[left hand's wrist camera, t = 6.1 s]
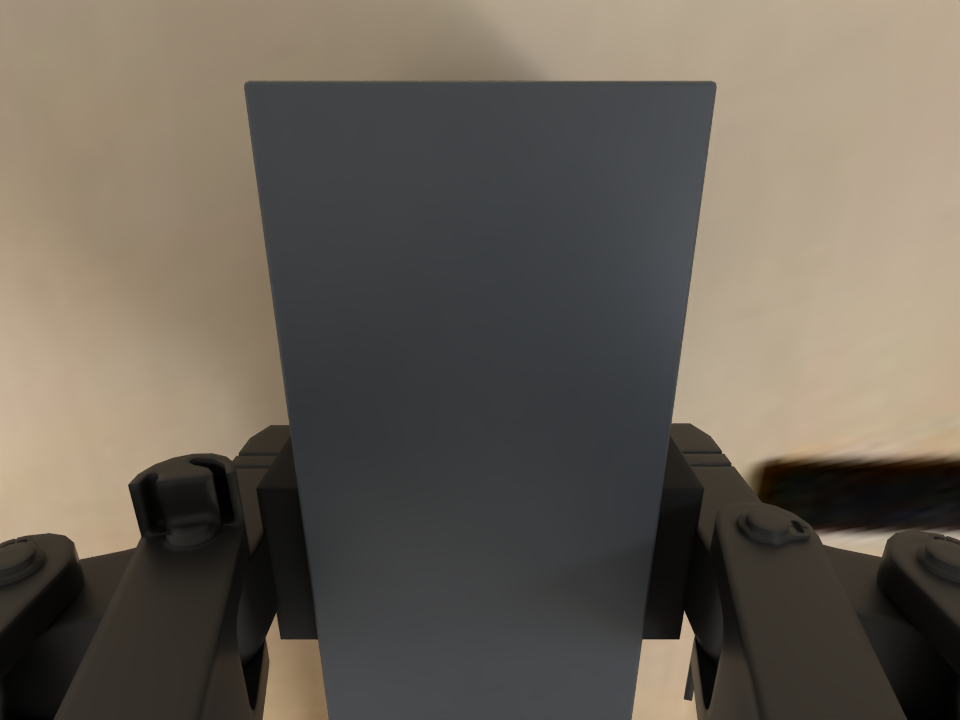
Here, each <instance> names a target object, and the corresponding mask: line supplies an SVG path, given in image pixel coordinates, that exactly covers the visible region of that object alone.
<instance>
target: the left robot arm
mask: <svg viewBox="0 0 960 720" xmlns="http://www.w3.org/2000/svg"><path fill="white" fill-rule="evenodd" d="M128 486H129V490H130V494H131V498H132V502H133V506H134V510H135V514H136V517H137V521H138V525H139V529H140V533H141V539H140V541H139V543H138V545H137V547H136V548H133V549H129V550H125V551H121V552H116V553H111V554H106V555H101V556H96V557H91V558H86V559H81V560H79V557H78V554H77V551H76V548H75V545H74V542H72V541H71V540H70V539H69V538H67V537H66V536H64V535H57V534H51V533H48V534H38V535H29V536H24V537H19V538H17V539H12V540H9V541H6V542H3V543H1V544H0V720H262V719H263V711H264V703H265V694H266V686H267V678H268V670H269V655H268V648H267V643H266V635H267V633H268V631H269V628H270V626H271V624H272V621H273V619H274V617H275V614H276V612H277V618H278V624H279V631H280V637H281V639H318V634H317V626H316V619H315V611H314V604H313V596H312V589H311V581H310V574H309V567H308V559H307V552H306V544H305V537H304V529H303V522H302V514H301V507H300V499H299V492H298V485H297V477H296V470H295V462H294V455H293V447H292V440H291V432H290V425H270V426H269V427H267V428H266V429H264V430H262V431H261V432H259V433H258V434H256V435H254V436H253V437H251V438H250V439H249V440H248V442H247V443H246V444H245V446H244V447H243V448H242V450H241V451H240V452H239V456H236V457H235V459H234V460H233V461H231V460H230V459H229V458H227V457H226V456H221V455H217V454H212V453H209V454H190V455H185V456H180V457H175V458H172V459H169V460H166V461H163V462H161V463H158V464H155V465H153V466H151V467H150V468H148V469H146V470H145V471H143V472H141V473H140V474H138V475H137V476H136V477H135V478H134V479H133V480H132V481H131V482H130V484H129V485H128ZM684 611H685V613H686V615H687V617H688V620H689V622H690V624H691V627H692V629H693V631H694V634H695V637H694V643H693V648H692V654H691V660H690V665H689V671H688V677H687V682H686V688H685V695H684V699H685V700H690V701H692V697H693V692H694V693H695V701H696V710H697V718H698V720H960V540H958V539H955V538H952V537H949V536H947V537H945V536H944V535H941V534H936V533H928V532H919V531H907V532H900V533H896V534H894V535H893V536H892V537H891V538H889V539H888V540H887V543H886V546H885V549H884V553H883V556H882V557H877V556H872V555H867V554H862V553H857V552H853V551H848V550H843V549H838V548H834V547H830V546H826V545H823V544H822V542H821V540H820V538H819V536H818V535H817V534H816V532H815V531H814V530H813V528H812V527H811V526H810V525H809V524H808V523H807V522H805V521H804V520H802V519H801V518H799V517H798V516H796V515H795V514H793V513H791V512H789V511H786V510H784V509H782V508H779V507H777V506H774V505H769V504H765V503H762V502H761V501H760V500H759V498H758V497H757V496H756V495H755V493H754V492H753V491H752V489H751V488H750V487H749V485H748V484H747V483H746V482H745V480H744V479H743V478H742V476H741V475H740V474H739V473H738V471H737V470H736V469H735V467H732V466H731V462H730V461H729V460H728V458H727V457H726V456H725V454H722V451H721V449H720V448H719V447H718V445H717V444H716V443H715V442H714V440H713V439H712V438H711V436H709V435H708V434H706V433H704V432H703V431H701V430H700V429H698V428H696V427H695V426H693V425H692V424H671V429H670V436H669V444H668V451H667V459H666V466H665V474H664V481H663V489H662V496H661V503H660V511H659V518H658V526H657V533H656V541H655V548H654V555H653V563H652V570H651V578H650V585H649V593H648V600H647V607H646V615H645V622H644V630H643V637H642V639H680V633H681V627H682V621H683V615H684Z"/></svg>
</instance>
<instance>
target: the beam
mask: <svg viewBox="0 0 960 720" xmlns="http://www.w3.org/2000/svg"><path fill="white" fill-rule="evenodd" d="M244 89H245V97H246V104H247V112H248V119H249V127H250V134H251V141H252V149H253V156H254V164H255V171H256V179H257V186H258V194H259V201H260V209H261V216H262V223H263V231H264V238H265V246H266V253H267V261H268V268H269V276H270V283H271V291H272V298H273V306H274V313H275V320H276V328H277V335H278V343H279V350H280V358H281V365H282V373H283V380H284V388H285V395H286V402H287V410H288V417H289V425H290V432H291V440H292V447H293V455H294V462H295V470H296V477H297V485H298V492H299V499H300V507H301V514H302V522H303V529H304V537H305V544H306V552H307V559H308V567H309V574H310V581H311V589H312V596H313V604H314V611H315V619H316V626H317V634H318V641H319V649H320V656H321V664H322V671H323V678H324V686H325V693H326V701H327V708H328V716H329V720H631V719H632V712H633V704H634V697H635V689H636V682H637V674H638V667H639V660H640V652H641V645H642V637H643V630H644V622H645V615H646V607H647V600H648V593H649V585H650V578H651V570H652V563H653V555H654V548H655V541H656V533H657V526H658V518H659V511H660V503H661V496H662V489H663V481H664V474H665V466H666V459H667V451H668V444H669V436H670V429H671V422H672V414H673V407H674V399H675V392H676V384H677V377H678V370H679V362H680V355H681V347H682V340H683V332H684V325H685V318H686V310H687V303H688V295H689V288H690V280H691V273H692V265H693V258H694V251H695V243H696V236H697V228H698V221H699V213H700V206H701V199H702V191H703V184H704V176H705V169H706V161H707V154H708V147H709V139H710V132H711V124H712V117H713V109H714V102H715V94H716V83H715V82H713V81H248V82H246V83H245V86H244Z"/></svg>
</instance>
